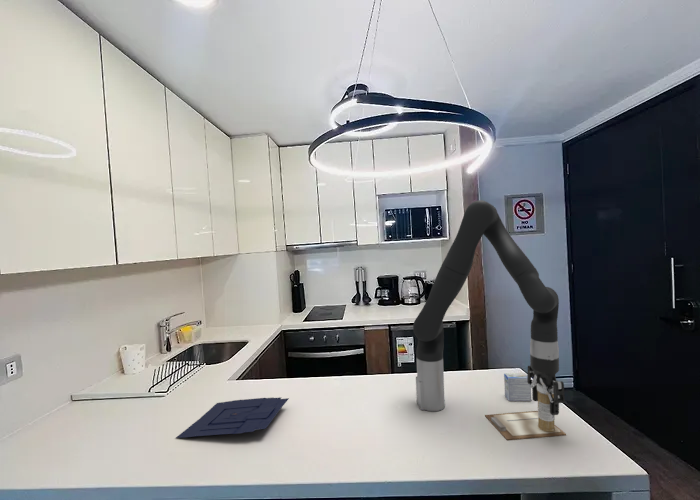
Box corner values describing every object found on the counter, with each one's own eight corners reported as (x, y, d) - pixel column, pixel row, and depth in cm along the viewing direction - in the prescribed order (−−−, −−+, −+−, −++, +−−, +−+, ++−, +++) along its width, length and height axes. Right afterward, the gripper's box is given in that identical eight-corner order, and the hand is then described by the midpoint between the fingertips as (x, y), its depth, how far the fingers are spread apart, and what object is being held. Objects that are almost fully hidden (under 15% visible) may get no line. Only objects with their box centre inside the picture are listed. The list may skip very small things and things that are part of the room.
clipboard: (507, 440, 100) (506, 434, 100) (485, 416, 114) (484, 411, 114) (566, 435, 102) (566, 429, 101) (537, 411, 115) (537, 407, 115)
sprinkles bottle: (543, 423, 107) (541, 380, 107) (558, 429, 104) (557, 385, 103) (534, 427, 105) (533, 384, 105) (550, 434, 101) (548, 389, 101)
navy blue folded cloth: (264, 441, 103) (262, 429, 103) (176, 446, 109) (174, 435, 109) (292, 403, 127) (290, 393, 127) (218, 409, 133) (217, 400, 133)
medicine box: (526, 396, 127) (526, 372, 127) (531, 401, 123) (531, 377, 123) (504, 396, 128) (503, 372, 128) (508, 401, 124) (508, 377, 123)
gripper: (519, 347, 110) (519, 397, 111) (547, 363, 96) (548, 420, 97) (541, 346, 111) (542, 395, 111) (573, 361, 97) (573, 418, 97)
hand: (545, 407), depth 104 cm, fingers open, 8 cm apart
